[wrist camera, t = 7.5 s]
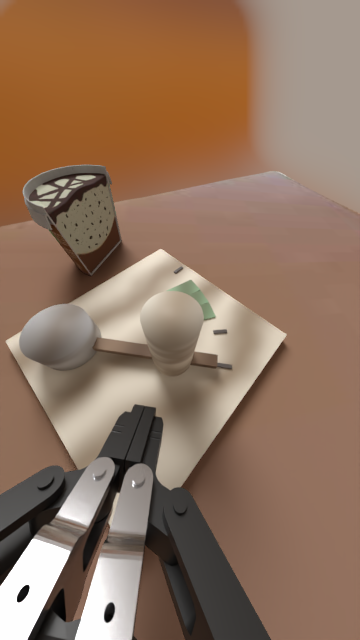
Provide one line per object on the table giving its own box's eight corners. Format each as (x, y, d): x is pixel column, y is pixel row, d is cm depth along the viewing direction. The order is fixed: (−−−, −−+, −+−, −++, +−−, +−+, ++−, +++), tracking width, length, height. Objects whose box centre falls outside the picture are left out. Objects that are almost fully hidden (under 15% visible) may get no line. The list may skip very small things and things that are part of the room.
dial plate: (14, 345, 19) (3, 340, 18) (161, 254, 28) (160, 247, 27) (133, 548, 12) (128, 562, 11) (281, 338, 21) (287, 334, 20)
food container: (96, 228, 32) (67, 157, 23) (125, 236, 31) (107, 164, 22) (50, 272, 25) (-13, 197, 17) (85, 282, 25) (37, 209, 16)
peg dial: (29, 365, 17) (-77, 325, 10) (59, 315, 20) (-4, 257, 13) (214, 394, 16) (247, 373, 9) (215, 337, 19) (241, 288, 12)
